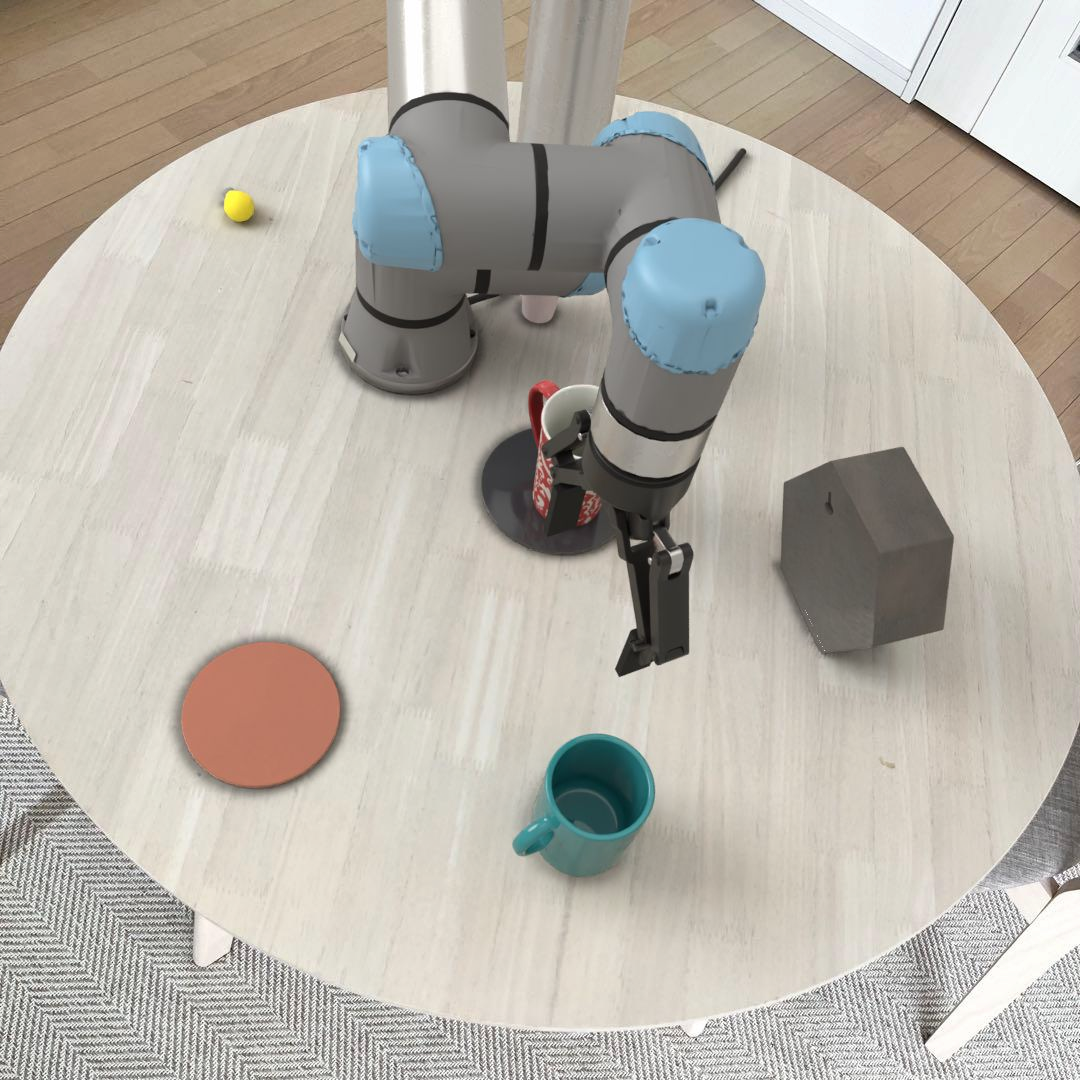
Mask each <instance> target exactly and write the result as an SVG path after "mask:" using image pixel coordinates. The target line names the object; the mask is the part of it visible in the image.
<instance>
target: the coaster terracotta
mask: <svg viewBox="0 0 1080 1080" xmlns="http://www.w3.org/2000/svg"><path fill="white" fill-rule="evenodd" d="M340 720H341V699H340V695H339V691H338V688H337V685H336V683H335V681H334V678H333V677H332V675H331V673H330V672H329V670H328V669H327V668H326V666H325V665H323V663H321V661H320V660H318V659H317V658H316V657H315V656H313V654H310V653H309V652H307V651H305V650H303V649H301V648H299V647H296V646H294V645H290V644H287V643H282V642H276V641H275V642H274V641H260V642H257V641H256V642H252V643H251V642H250V643H246V644H243V645H239V646H236V647H233V648H231V649H229V650H227V651H225V652H223V653H221V654H220V655H217V656H216V657H215V658H214V659H212V660H211V661H210V662H208V663H207V665H205V666H204V667H203V668H202V669H201V670H200V671H199V673H198V674H197V675H196V677H194V679H193V681H192V682H191V684H190V685H189V687H188V690H187V692H186V694H185V698H184V700H183V703H182V709H181V722H180V723H181V724H180V725H181V731H182V736H183V739H184V742H185V746H186V747H187V749H188V751H189V753H190V755H191V757H192V758H193V759H194V761H195V762H196V763H197V764H198V765H199V767H200V768H201V769H203V770H204V771H205V772H206V773H208V774H209V775H211V776H212V777H214V778H215V779H217V780H219V781H221V782H224V783H225V784H229V785H232V786H235V787H241V788H246V789H247V788H250V789H260V788H261V789H263V788H270V787H275V786H279V785H282V784H285V783H288V782H290V781H291V782H292V781H293V780H295V779H297V778H299V777H300V776H302V775H304V774H305V773H307V772H308V771H309V770H311V769H312V768H313V767H315V765H317V763H319V761H320V760H321V759H322V758H323V757H324V756H325V755H326V753H327V752H328V750H329V749H330V747H332V743H333V742H334V740H335V738H336V736H337V732H338V730H339V725H340Z"/></svg>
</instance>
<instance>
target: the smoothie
mask: <svg viewBox="0 0 1080 1080" xmlns="http://www.w3.org/2000/svg"><path fill="white" fill-rule="evenodd" d="M560 298H561V297H557V296H542V295H521V312H522V313H521V314H522V315H523V316H524V318H525V319H526V320H527V321H529V322H532V323H534V324H545V323H548V322H550V321H551V320H552V319H553V317H554V314H555V311H556V309H557V306H558V304H559V300H560Z"/></svg>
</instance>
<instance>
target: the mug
mask: <svg viewBox="0 0 1080 1080" xmlns="http://www.w3.org/2000/svg"><path fill="white" fill-rule="evenodd" d="M598 390H599V386H598V385H594V384H587V383H586V384H584V383H582V384H581V383H580V384H573V385H569V386H565V387H563V388H560V387H559V386H558V385H557V384H556V383H555V382H553V381H552V380H550V379H542V380H540V381H538V382H537V383H535V384H534V385H533V386H531V388H530V389H529V392H528V397H527V407H528V408H527V409H528V410H527V411H528V415H529V421H530V425H531V428H532V430H533V434H534V438H535V441H536V445H537V448H538V459H537V466H536V473H535V480H534V487H533V500H534V504H535V507H536V508H537V510H538V512H539V513H540V514H541V515H542V516H543V517H544V518H545V519H546V516H547V511H548V507H549V502H550V498H551V495H550V490H551V487H552V486H551V485H552V481H553V479H552V477H551V475H550V467H552V466H553V463H552V461H551V458H549V459H545V458H544V456H543V454H542V451H541V446H542V444H544V443H545V442H547V441H548V440H549V439H551V438H552V437H554V436H555V435H557V434H558V433H560V432H561V431H563V430H564V429H566V428H567V427H568V426H570V423H571V421H572V418H573V415H574V413H575V412H577V411H581V410H584V409H588V408H591V407H594V404H595V401H596V397H597V393H598ZM544 398H545V400H546V401H545V403H544ZM584 447H585V445H583V446H582V447H580V448H579V449H577V450H575V451H573V452H572V453H573V456H574V459H575V460H576V459H579V458H582V456H583V451H584ZM600 508H601V503H600V497H599V496H598V495H597V494H596V493H593V491H589V490H586V494H585V497H584V501H583V505H582V508H581V512H580V516H579V520H578V523H577V526H581V525H584V524H586V523H588V522H590V521H591V520H592V519H593V518H594V517H595V516H596V515H597V514H598V512H599V510H600Z"/></svg>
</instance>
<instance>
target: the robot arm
mask: <svg viewBox="0 0 1080 1080" xmlns="http://www.w3.org/2000/svg"><path fill="white" fill-rule="evenodd" d="M632 1H633V0H530V8H529V15H528V16H529V17H528V25H527V35H526V45H525V55H524V64H523V74H522V83H521V84H522V85H521V93H520V104H519V113H518V121H517V122H518V123H517V132H516V141H511V139H510V138H511V137H510V113H509V95H508V94H509V93H508V78H507V77H508V76H507V75H508V74H507V58H506V41H505V24H504V23H505V22H504V21H505V20H504V6H503V4H504V3H503V0H385V18H386V19H385V21H386V23H385V24H386V25H385V27H386V70H387V71H386V76H387V77H386V84H387V85H386V86H387V133H386V134H385V135H383V136H374V137H373V136H369V137H366V138H364V139H363V140H362V141H360V143H359V144H358V147H357V186H356V188H355V189H356V190H355V195H354V210H353V212H352V213H353V214H352V218H351V219H352V220H351V223H352V224H351V227H352V232H353V234H354V238H355V239H354V241H355V242H354V243H355V245H354V248H355V250H354V251H355V252H354V253H355V288H354V290H353V293H352V295H351V297H350V300H349V302H348V304H347V306H346V308H345V310H344V312H343V314H342V318H341V321H340V327H339V328H340V330H339V333H340V335H339V337H338V342H339V343H340V348H341V351H342V354H343V357H344V359H345V362H346V363H347V364H348V366H349V368H351V369H352V371H353V372H354V373H355V374H356V375H357V376H358V377H360V378H361V379H362V380H363V381H365V382H367V383H368V384H370V385H372V386H374V387H376V388H377V389H381V390H383V391H387V392H391V393H396V394H401V395H421V394H422V395H423V394H429V393H433V392H436V391H441V390H443V389H445V388H447V387H450V386H452V385H453V384H454V383H456V382H457V381H459V380H460V379H461V378H462V377H463V376H464V375H466V374H467V372H468V371H469V370H470V369H471V367H472V365H473V364H474V361H475V359H476V356H477V351H478V343H479V328H478V323H477V320H476V317H475V315H474V312H473V309H472V307H471V306H472V305H475V304H478V303H481V302H485V301H488V300H491V299H494V298H498V297H501V296H504V295H506V296H522V295H542V296H557V297H560V298H562V299H566V298H571V297H573V296H574V297H575V296H594V295H596V294H599V293H601V292H602V291H604V290H605V289H606V293H607V295H608V302H609V308H610V309H609V310H610V314H611V323H612V324H611V325H612V328H611V329H612V332H611V339H610V344H609V349H608V353H607V358H606V361H605V366H604V369H603V373H602V377H601V379H600V383H599V386H598V387H599V390H598V393H597V397H596V401H595V404H594V407H591V408H588V409H584V410H581V411H577V412H575V413H574V415H573V418H572V421H571V423H570V426H568V427H567V428H566V429H564V430H563V431H561V432H560V433H558V434H557V435H555V436H554V437H552V438H551V439H549V440H548V441H547V442H545V443H544V444H542V446H541V451H542V454H543V456H544V458H545V459H549V458H551V461H552V463H553V466H552V467H550V475H551V477H552V479H553V481H552V485H551V486H552V487H551V490H550V495H551V498H550V502H549V507H548V511H547V516H546V520H545V525H544V529H543V530H544V532H545V534H546V536H547V537H549V536H552V535H555V534H558V533H562V532H565V531H568V530H571V529H574V528H576V527H577V523H578V520H579V516H580V512H581V508H582V505H583V501H584V497H585V494H586V490H589V491H593V493H596V494H597V495H598V496H599V497H600V503H601V505H602V506H603V508H604V510H605V511H606V513H607V514H608V515H609V521H610V524H611V525H612V526H613V527H614V531H615V536H614V538H615V542H616V549H617V555H618V557H619V558H620V559H621V560H623V561H625V563H626V564H625V565H626V571H627V576H628V582H629V589H630V595H631V602H632V608H633V614H634V621H635V625H636V628H633V629H630V631H629V633H628V636H627V638H626V641H625V643H624V645H623V648H622V650H621V653H620V655H619V658H618V660H617V663H616V665H615V668H614V670H615V672H616V675H617V676H618V678H621V677H624V676H626V675H629V674H632V673H635V672H638V671H641V670H643V669H646V668H648V667H650V666H651V665H652V663H653V662H654V664H655V665H656V666H661V665H664V664H667V663H669V662H672V661H674V660H675V661H676V660H677V659H680V658H682V657H685V656H688V655H689V654H690V571H691V567H692V563H693V560H694V556H695V553H694V550H693V547H692V545H691V544H690V543H689V542H683V543H681V544H677V543H676V541H675V539H674V538H673V536H672V535H671V533H670V532H669V531H670V527H671V511H672V510H673V509H674V508H675V507H676V506H677V505H678V504H679V502H680V501H681V500H682V499H683V498H684V496H685V495H686V494H687V492H688V490H689V489H690V487H691V483H692V481H693V479H694V477H695V474H696V471H697V469H698V467H699V465H700V461H701V458H702V454H703V452H704V449H705V447H706V445H707V442H708V440H709V437H710V434H711V433H712V430H713V428H714V425H715V423H716V420H717V418H718V414H719V412H720V410H721V408H722V406H723V404H724V401H725V399H726V396H727V394H728V392H729V390H730V387H731V384H732V382H733V380H734V378H735V375H736V373H737V370H738V368H739V366H740V363H741V361H742V359H743V357H744V354H745V352H746V350H747V348H749V345H750V343H751V341H752V339H753V337H754V335H755V331H754V330H755V328H756V326H757V325H758V323H759V316H760V314H759V313H760V309H761V304H762V302H763V299H764V296H765V291H766V286H767V285H766V283H767V280H766V278H767V277H766V271H765V267H764V264H763V262H762V259H761V257H760V255H759V253H758V251H756V250H755V249H753V248H750V247H749V246H748V244H747V243H746V241H745V239H744V237H743V236H742V235H741V234H740V233H738V232H737V231H735V230H734V229H732V228H731V227H728V226H727V225H724V224H722V221H721V216H720V209H719V205H718V200H717V191H719V189H720V187H722V185H723V184H724V183H725V181H727V179H728V178H729V176H731V174H732V173H733V171H734V170H735V169H736V167H737V166H738V165H739V163H740V162H741V161H742V160H743V158H744V157H745V156H746V155H747V149H746V148H743V147H741V148H740V149H739V150H738V151H737V153H736V154H735V155H734V157H733V158H732V159H731V160H730V162H729V163H728V165H726V167H725V169H723V171H722V172H721V174H720V175H719V176H718V177H717V178H716V179H715V181H714V177H713V173H712V172H711V170H710V167H709V163H708V161H707V158H706V155H705V153H704V150H703V149H702V146H701V144H700V142H699V139H698V137H697V136H696V134H695V132H694V131H693V130H692V129H691V128H690V127H689V126H688V124H686V123H685V122H684V121H682V120H680V119H679V118H678V117H676V116H673V115H671V114H668V113H665V112H661V111H654V110H651V111H649V110H646V111H645V110H644V111H637V112H634V113H633V114H632V115H630V116H627V117H625V118H622V119H619V118H617V119H615V120H613V121H612V119H613V111H614V105H615V101H616V95H617V94H616V92H617V90H618V89H617V88H618V82H619V76H620V71H621V65H622V61H623V55H624V54H623V53H624V47H625V42H626V36H627V30H628V24H629V18H630V13H631V8H632V7H631V6H632V3H633V2H632ZM467 294H468V295H471V296H467ZM472 294H473V295H472ZM583 445H585V447H584V451H583V456H582V458H579V459H576V460H575V459H574V456H573V453H572V452H573V451H575V450H577V449H579V448H580V447H582V446H583ZM632 540H634V541H642V542H640V543H637V544H634V545H631V541H632Z"/></svg>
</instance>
